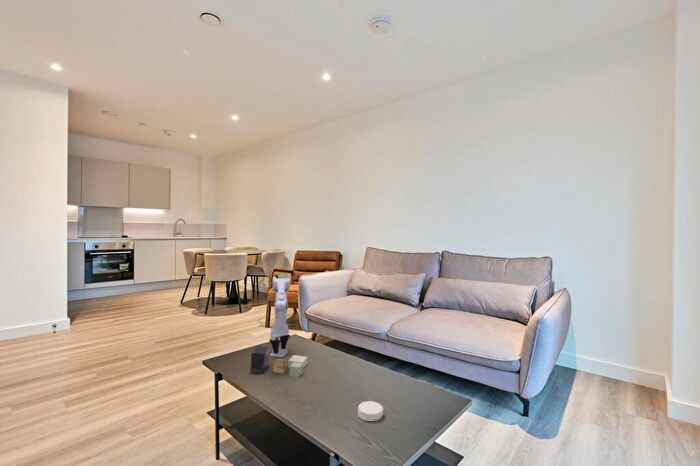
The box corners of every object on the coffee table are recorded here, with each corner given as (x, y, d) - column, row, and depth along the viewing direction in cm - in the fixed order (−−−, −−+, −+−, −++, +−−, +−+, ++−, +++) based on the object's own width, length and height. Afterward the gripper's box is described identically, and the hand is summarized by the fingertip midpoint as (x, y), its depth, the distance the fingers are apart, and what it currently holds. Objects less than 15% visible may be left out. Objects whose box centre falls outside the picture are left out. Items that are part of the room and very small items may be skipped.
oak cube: (277, 368, 171) (277, 358, 171) (286, 369, 170) (286, 360, 170) (273, 372, 167) (273, 362, 167) (282, 373, 165) (282, 363, 165)
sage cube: (293, 372, 168) (293, 362, 168) (302, 373, 167) (303, 363, 167) (289, 376, 163) (289, 365, 163) (299, 377, 162) (299, 367, 162)
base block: (293, 362, 181) (293, 355, 181) (307, 364, 179) (307, 356, 179) (287, 368, 173) (288, 360, 173) (302, 370, 171) (302, 362, 171)
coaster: (367, 406, 137) (368, 398, 137) (387, 415, 131) (388, 406, 131) (352, 416, 129) (353, 407, 129) (373, 426, 123) (373, 416, 123)
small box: (262, 374, 164) (263, 353, 164) (249, 373, 164) (250, 352, 164) (268, 365, 174) (269, 346, 174) (256, 365, 174) (257, 345, 174)
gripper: (280, 328, 160) (279, 356, 160) (294, 321, 174) (293, 348, 173) (267, 326, 162) (266, 354, 162) (282, 320, 176) (281, 346, 176)
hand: (279, 351), depth 168 cm, fingers open, 7 cm apart
